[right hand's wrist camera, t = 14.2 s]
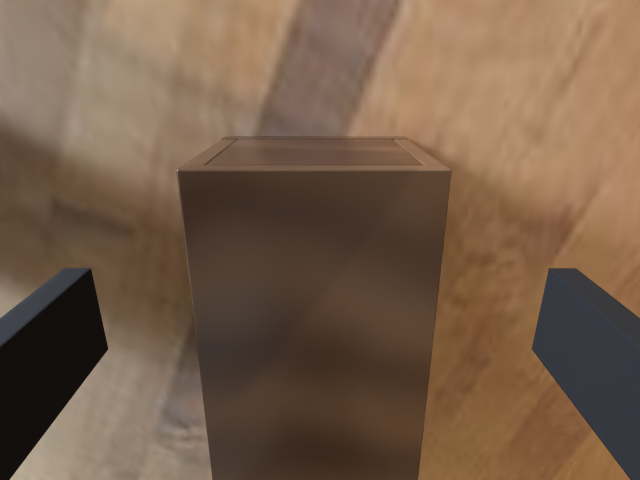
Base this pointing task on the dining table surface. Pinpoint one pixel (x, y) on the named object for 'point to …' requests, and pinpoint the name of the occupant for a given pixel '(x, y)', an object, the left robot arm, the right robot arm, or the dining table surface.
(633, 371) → the right robot arm
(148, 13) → the dining table surface
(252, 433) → the cabinet
